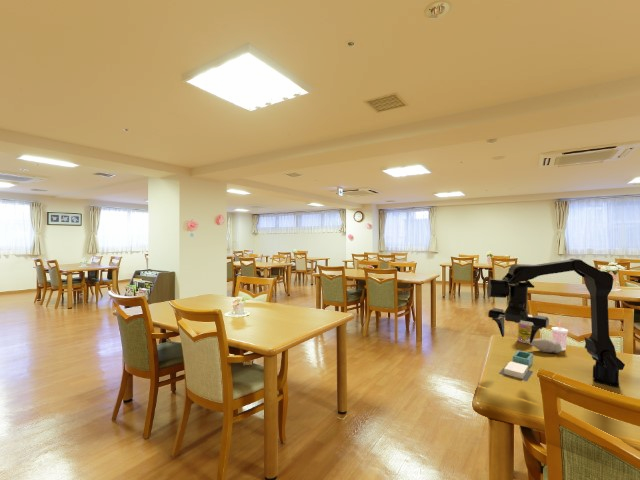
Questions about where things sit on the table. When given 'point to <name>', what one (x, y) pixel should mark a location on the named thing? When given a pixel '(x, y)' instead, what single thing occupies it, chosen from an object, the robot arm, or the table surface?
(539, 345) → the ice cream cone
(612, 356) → the robot arm
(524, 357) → the teal open box
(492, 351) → the table surface
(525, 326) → the supplement bottle
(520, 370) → the lid
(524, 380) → the mat
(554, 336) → the beverage cup
